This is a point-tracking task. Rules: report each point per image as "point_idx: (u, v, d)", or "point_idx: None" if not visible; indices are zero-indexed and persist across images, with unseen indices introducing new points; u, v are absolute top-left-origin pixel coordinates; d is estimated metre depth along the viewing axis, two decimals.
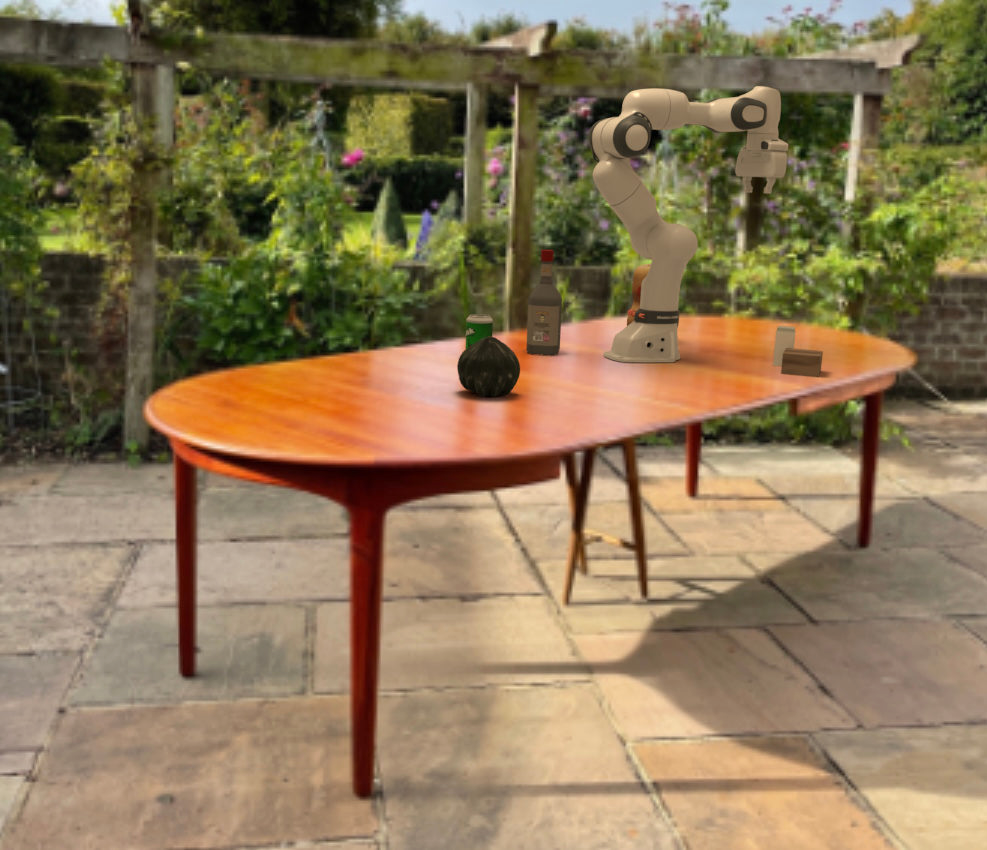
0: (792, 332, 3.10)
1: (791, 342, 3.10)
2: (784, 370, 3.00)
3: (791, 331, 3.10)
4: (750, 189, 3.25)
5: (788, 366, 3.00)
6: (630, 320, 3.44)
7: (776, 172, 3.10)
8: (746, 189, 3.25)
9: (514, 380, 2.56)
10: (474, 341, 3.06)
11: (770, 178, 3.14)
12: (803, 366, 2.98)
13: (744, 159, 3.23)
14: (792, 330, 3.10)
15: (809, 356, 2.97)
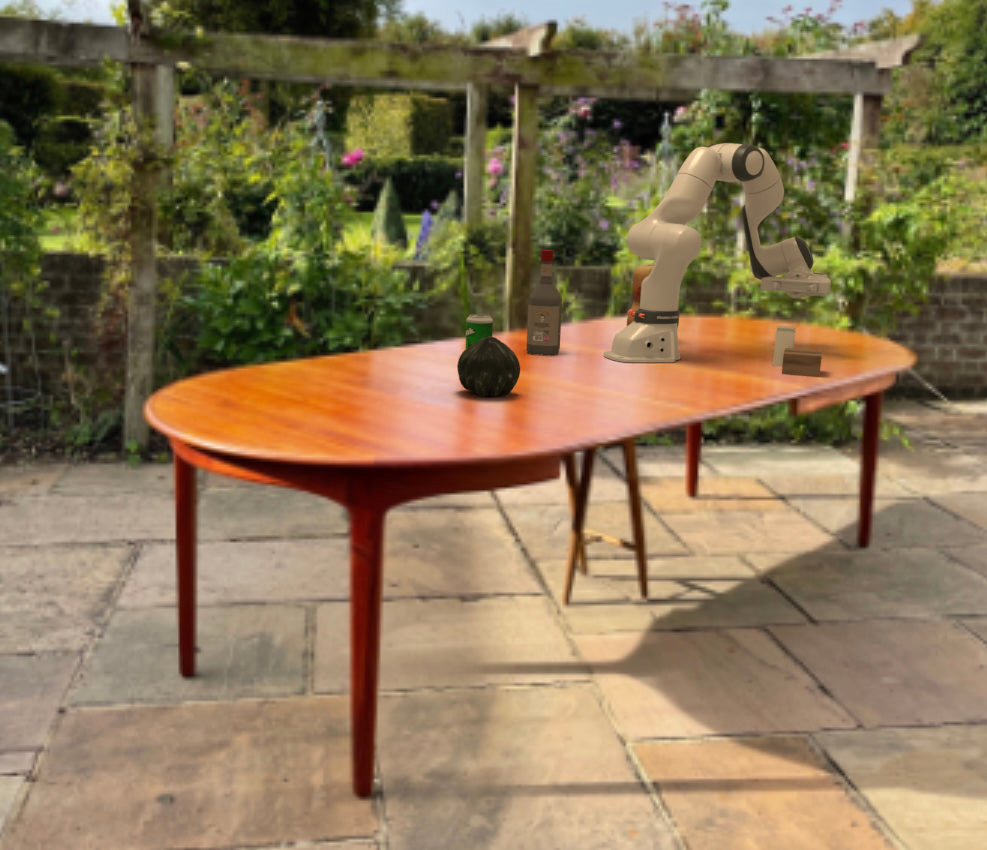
0: (792, 332, 3.10)
1: (791, 342, 3.10)
2: (785, 371, 3.00)
3: (791, 331, 3.10)
4: None
5: (789, 366, 3.00)
6: (630, 320, 3.44)
7: (830, 283, 3.23)
8: (778, 283, 3.23)
9: (514, 380, 2.56)
10: (474, 341, 3.06)
11: (817, 285, 3.23)
12: (804, 366, 2.98)
13: (777, 278, 3.31)
14: (792, 330, 3.10)
15: (810, 356, 2.97)
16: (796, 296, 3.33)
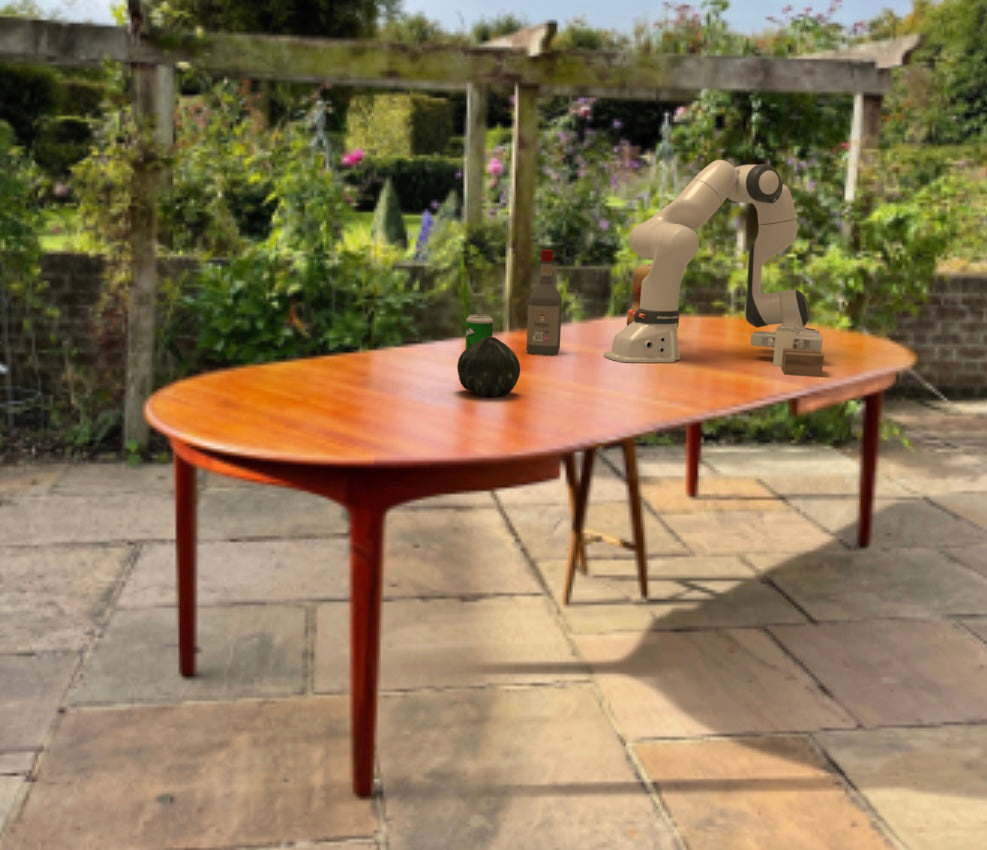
0: (792, 332, 3.10)
1: (791, 342, 3.10)
2: (788, 371, 3.00)
3: (791, 331, 3.10)
4: (774, 344, 3.15)
5: (791, 366, 2.99)
6: (630, 320, 3.44)
7: None
8: (773, 340, 3.14)
9: (514, 380, 2.56)
10: (474, 341, 3.06)
11: (803, 341, 3.15)
12: (807, 366, 2.98)
13: (767, 333, 3.23)
14: (792, 330, 3.10)
15: (812, 356, 2.98)
16: None
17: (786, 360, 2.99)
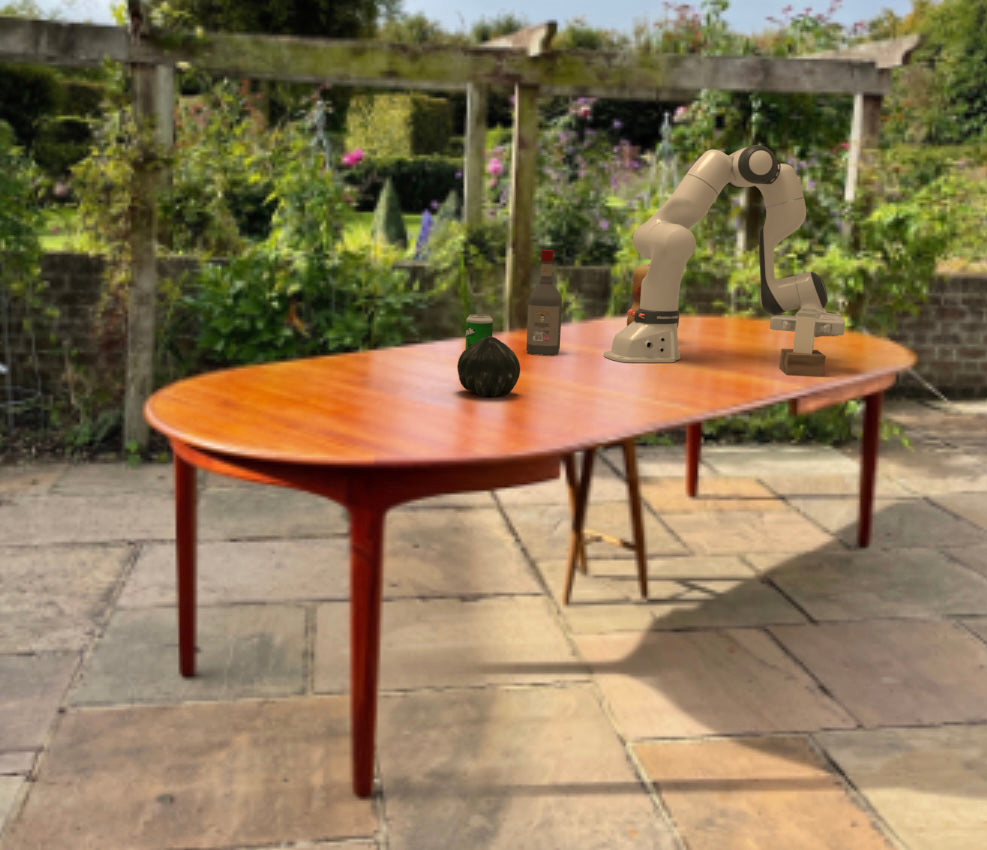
0: (813, 317, 2.98)
1: (812, 328, 2.98)
2: (790, 372, 2.99)
3: (812, 316, 2.98)
4: (789, 328, 3.03)
5: (793, 366, 2.99)
6: (630, 320, 3.44)
7: (844, 323, 3.02)
8: (788, 323, 3.02)
9: (514, 380, 2.56)
10: (474, 341, 3.06)
11: (831, 325, 3.02)
12: (809, 367, 2.98)
13: (787, 317, 3.10)
14: (813, 315, 2.98)
15: (814, 356, 2.98)
16: None
17: (789, 361, 2.98)
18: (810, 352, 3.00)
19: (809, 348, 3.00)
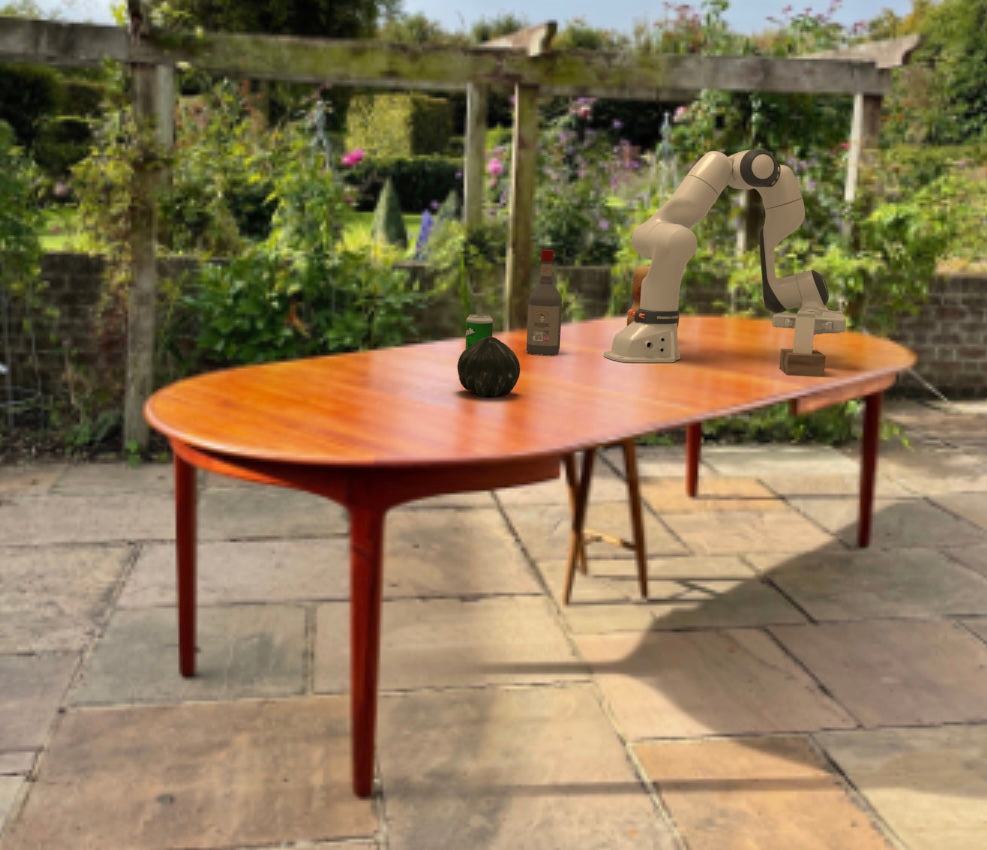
0: (813, 318, 2.97)
1: (812, 328, 2.98)
2: (790, 372, 2.99)
3: (812, 316, 2.97)
4: (791, 325, 3.08)
5: (794, 367, 2.99)
6: (630, 320, 3.44)
7: None
8: (790, 320, 3.07)
9: (514, 380, 2.56)
10: (474, 341, 3.06)
11: (832, 323, 3.07)
12: (809, 367, 2.98)
13: (789, 314, 3.15)
14: (813, 315, 2.97)
15: (814, 356, 2.98)
16: None
17: (789, 361, 2.98)
18: (810, 352, 3.00)
19: (809, 348, 2.99)
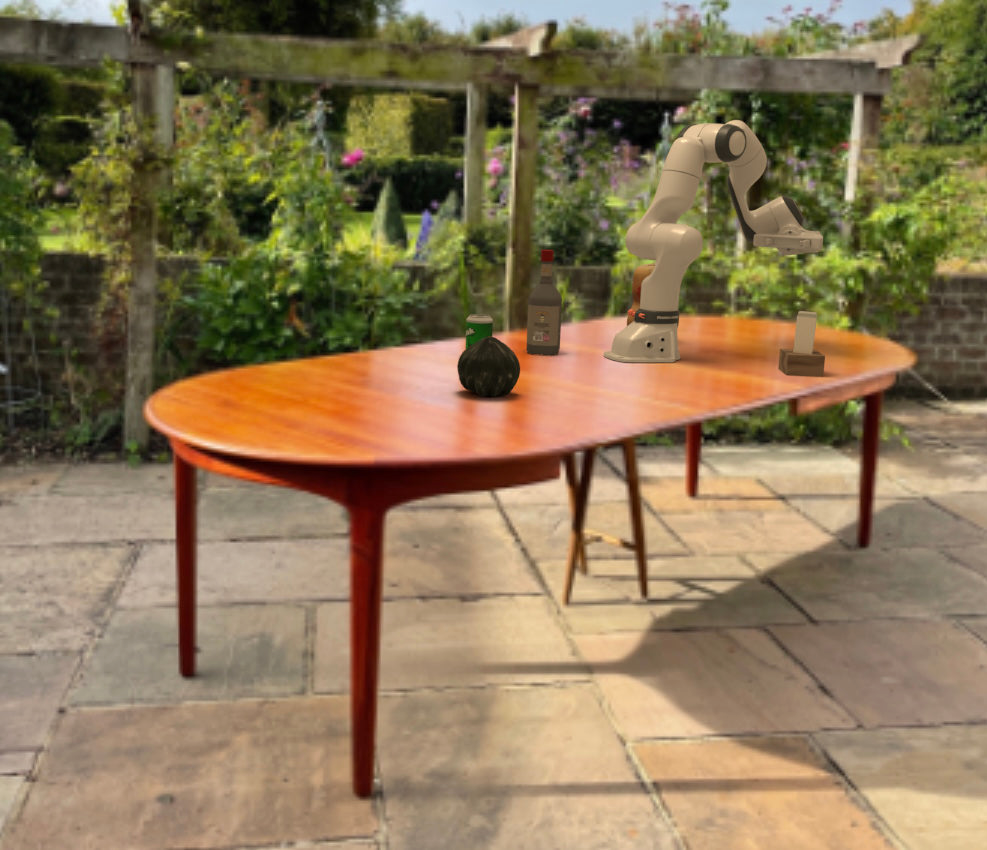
0: (814, 318, 2.97)
1: (813, 328, 2.98)
2: (790, 372, 2.99)
3: (813, 317, 2.98)
4: (771, 243, 3.23)
5: (793, 367, 2.98)
6: (630, 320, 3.44)
7: None
8: (770, 238, 3.23)
9: (514, 380, 2.56)
10: (474, 341, 3.06)
11: (810, 240, 3.22)
12: (808, 367, 2.98)
13: (769, 235, 3.31)
14: (814, 315, 2.97)
15: (814, 356, 2.98)
16: (788, 253, 3.33)
17: (788, 361, 2.98)
18: (810, 352, 3.00)
19: (809, 348, 2.99)
